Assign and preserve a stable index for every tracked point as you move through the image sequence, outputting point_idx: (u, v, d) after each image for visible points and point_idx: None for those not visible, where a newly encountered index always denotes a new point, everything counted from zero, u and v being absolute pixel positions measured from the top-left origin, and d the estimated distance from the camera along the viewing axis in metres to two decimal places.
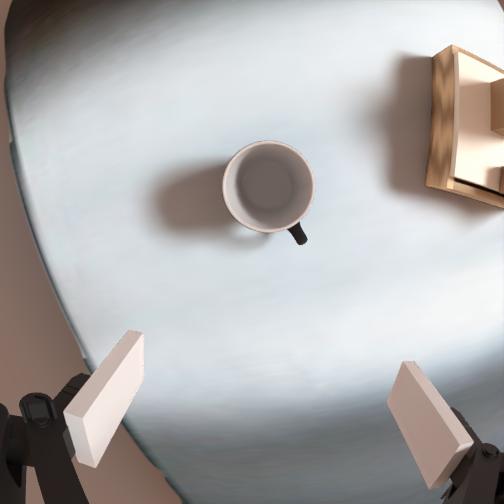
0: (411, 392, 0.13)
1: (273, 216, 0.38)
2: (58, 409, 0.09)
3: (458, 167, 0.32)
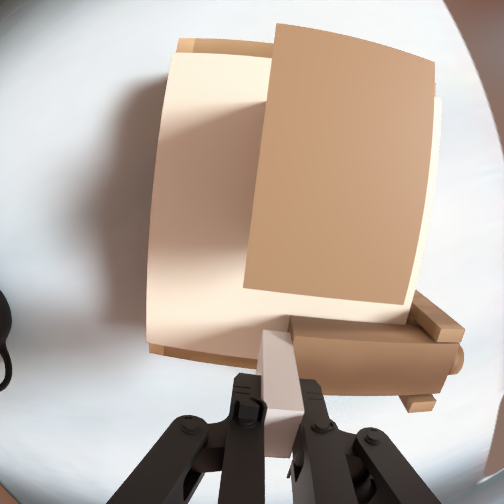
0: None
1: None
2: None
3: (153, 326, 0.18)
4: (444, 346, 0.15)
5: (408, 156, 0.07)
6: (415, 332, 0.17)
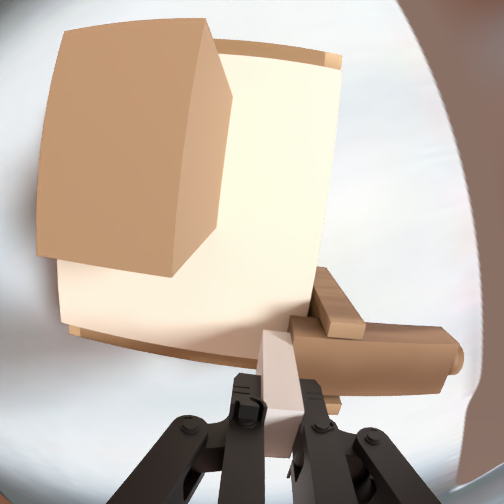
0: None
1: None
2: None
3: (65, 307, 0.18)
4: (444, 346, 0.15)
5: (160, 121, 0.07)
6: (415, 332, 0.17)
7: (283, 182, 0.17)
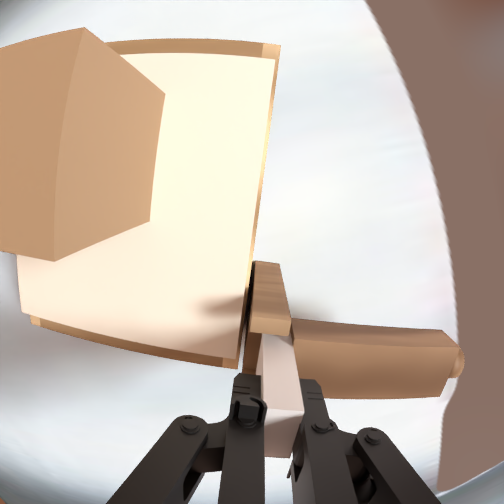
0: None
1: None
2: None
3: (24, 298, 0.18)
4: (444, 350, 0.15)
5: (44, 124, 0.07)
6: (415, 335, 0.17)
7: (212, 175, 0.16)
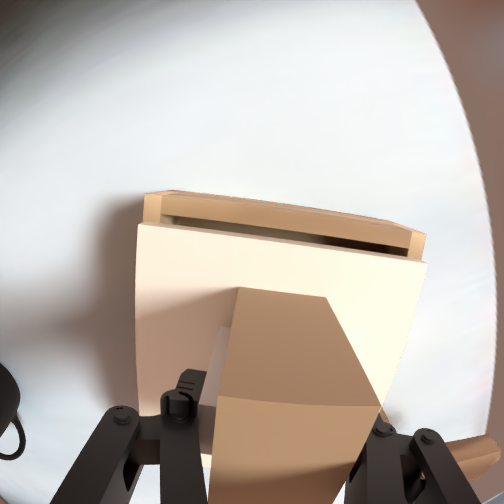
0: None
1: None
2: None
3: None
4: (491, 454, 0.16)
5: (330, 473, 0.08)
6: (473, 445, 0.18)
7: None
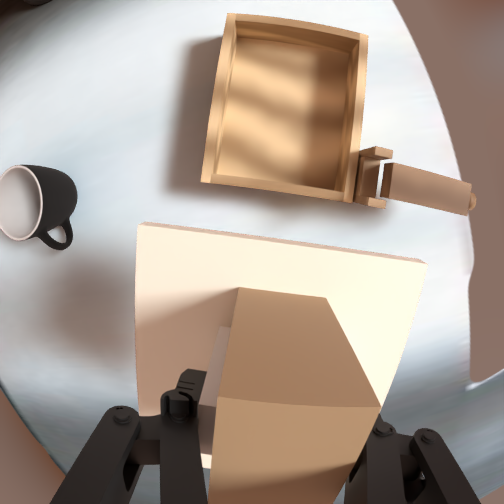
0: None
1: None
2: None
3: None
4: (463, 183, 0.28)
5: (330, 473, 0.08)
6: None
7: None
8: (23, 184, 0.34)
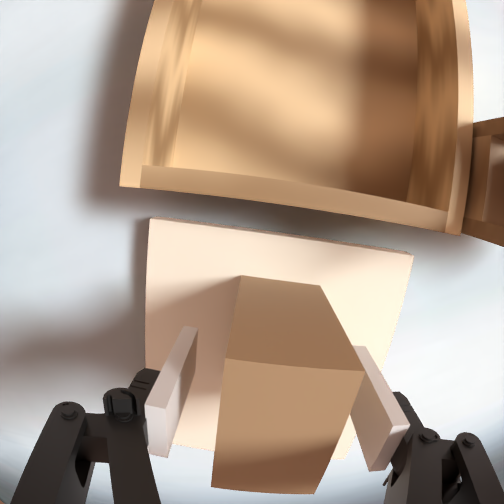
0: None
1: None
2: None
3: None
4: None
5: (322, 436, 0.10)
6: None
7: None
8: None
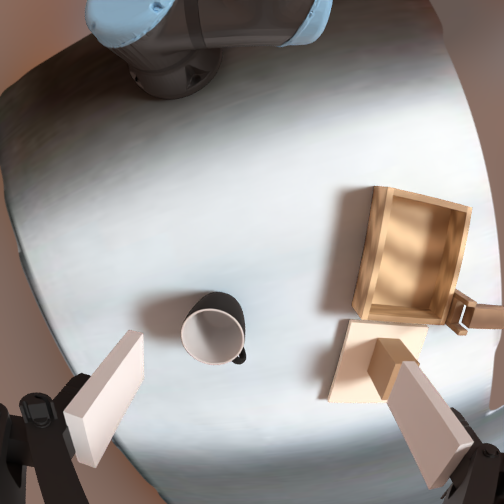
0: (411, 392, 0.13)
1: (223, 338, 0.51)
2: (57, 408, 0.09)
3: (332, 397, 0.55)
4: None
5: None
6: (498, 307, 0.43)
7: None
8: None
